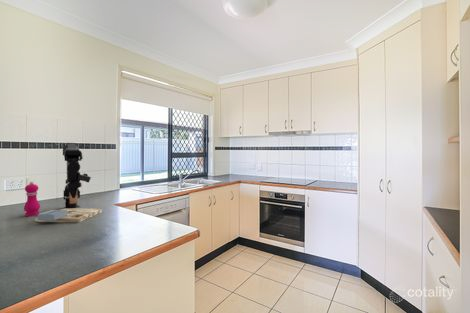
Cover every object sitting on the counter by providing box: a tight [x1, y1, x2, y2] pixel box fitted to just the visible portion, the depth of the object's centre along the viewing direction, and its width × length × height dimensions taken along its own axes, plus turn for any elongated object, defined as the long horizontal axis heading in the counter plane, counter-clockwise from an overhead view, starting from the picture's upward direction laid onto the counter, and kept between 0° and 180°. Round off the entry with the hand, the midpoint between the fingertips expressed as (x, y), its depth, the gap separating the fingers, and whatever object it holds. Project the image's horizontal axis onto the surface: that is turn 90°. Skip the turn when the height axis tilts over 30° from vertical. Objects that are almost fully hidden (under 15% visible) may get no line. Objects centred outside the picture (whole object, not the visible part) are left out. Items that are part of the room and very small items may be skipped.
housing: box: [36, 209, 67, 220], centre depth 124 cm, size 9×9×3 cm
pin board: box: [34, 207, 103, 223], centre depth 133 cm, size 20×24×2 cm
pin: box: [69, 192, 79, 204], centre depth 131 cm, size 4×4×9 cm
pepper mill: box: [23, 181, 41, 217], centre depth 135 cm, size 7×7×20 cm
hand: (73, 197), depth 131 cm, fingers closed on pin, 3 cm apart
